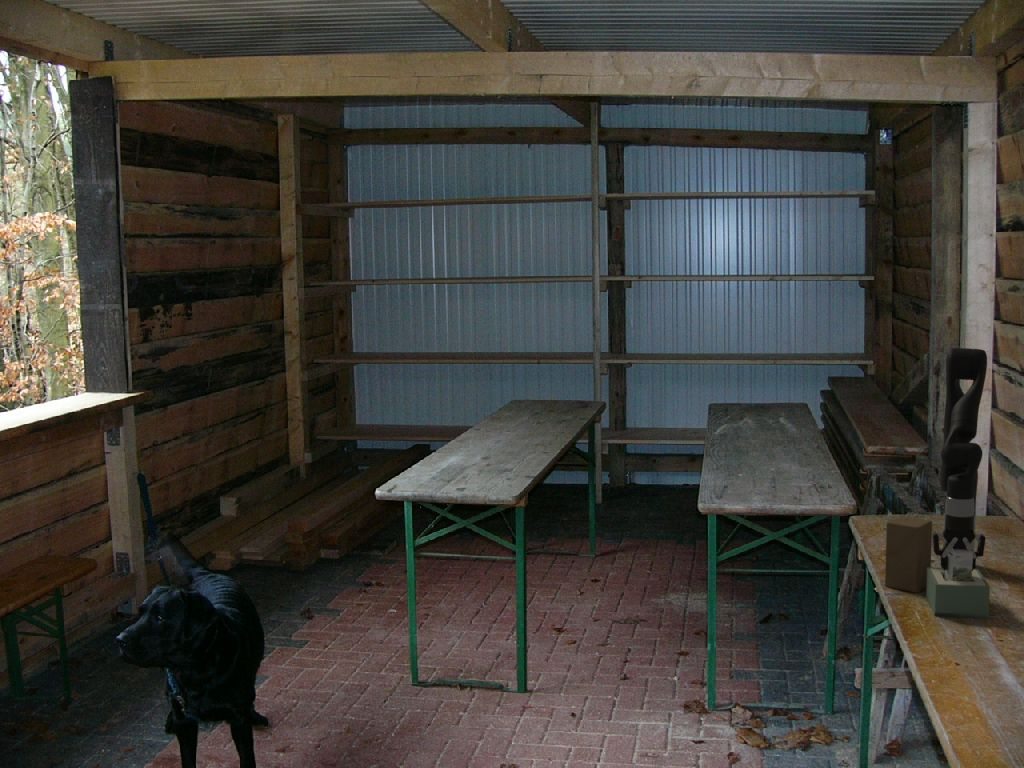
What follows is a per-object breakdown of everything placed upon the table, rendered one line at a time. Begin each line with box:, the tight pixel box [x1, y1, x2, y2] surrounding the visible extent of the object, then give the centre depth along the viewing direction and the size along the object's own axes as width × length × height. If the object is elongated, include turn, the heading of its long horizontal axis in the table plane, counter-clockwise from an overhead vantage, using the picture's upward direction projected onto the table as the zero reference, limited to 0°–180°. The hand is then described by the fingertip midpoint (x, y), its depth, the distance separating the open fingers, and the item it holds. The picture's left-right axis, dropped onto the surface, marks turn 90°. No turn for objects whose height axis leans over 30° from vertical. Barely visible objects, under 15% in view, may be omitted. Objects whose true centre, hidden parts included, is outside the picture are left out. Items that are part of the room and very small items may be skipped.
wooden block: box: [884, 515, 933, 593], centre depth 336 cm, size 10×10×20 cm
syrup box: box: [944, 547, 973, 582], centre depth 317 cm, size 6×6×14 cm
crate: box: [925, 566, 991, 619], centre depth 318 cm, size 16×14×9 cm
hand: (957, 569), depth 317 cm, fingers closed on syrup box, 6 cm apart
